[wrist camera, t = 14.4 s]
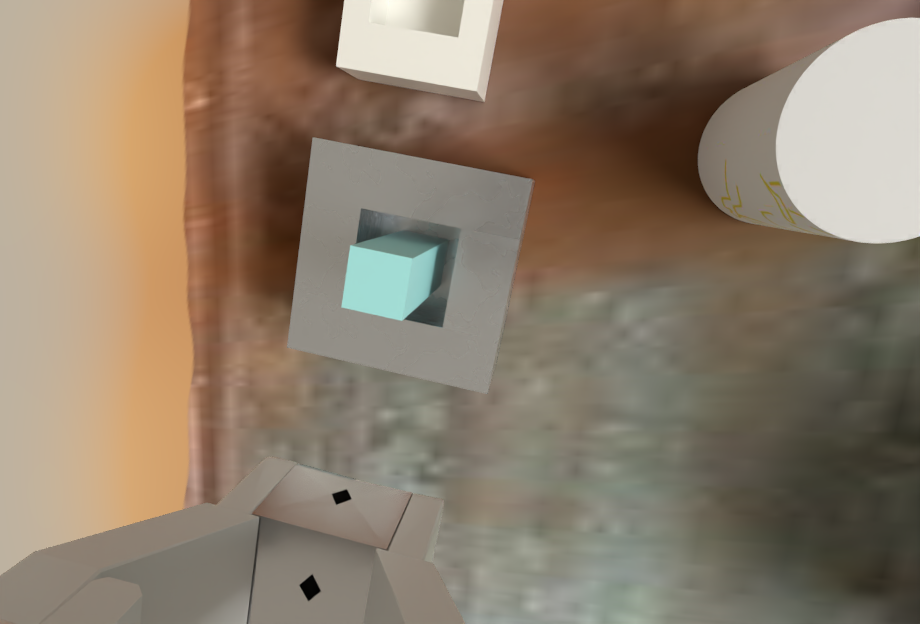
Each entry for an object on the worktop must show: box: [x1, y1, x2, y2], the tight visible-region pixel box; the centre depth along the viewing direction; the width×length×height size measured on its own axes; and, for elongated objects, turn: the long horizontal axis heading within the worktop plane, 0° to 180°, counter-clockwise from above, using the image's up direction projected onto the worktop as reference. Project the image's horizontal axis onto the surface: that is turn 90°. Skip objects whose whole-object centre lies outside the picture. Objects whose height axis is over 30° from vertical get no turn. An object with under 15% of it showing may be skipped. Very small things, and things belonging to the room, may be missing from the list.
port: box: [287, 137, 535, 394], centre depth 35 cm, size 12×12×6 cm
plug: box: [341, 230, 449, 321], centre depth 32 cm, size 3×3×10 cm
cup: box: [698, 18, 920, 243], centre depth 28 cm, size 8×8×12 cm
